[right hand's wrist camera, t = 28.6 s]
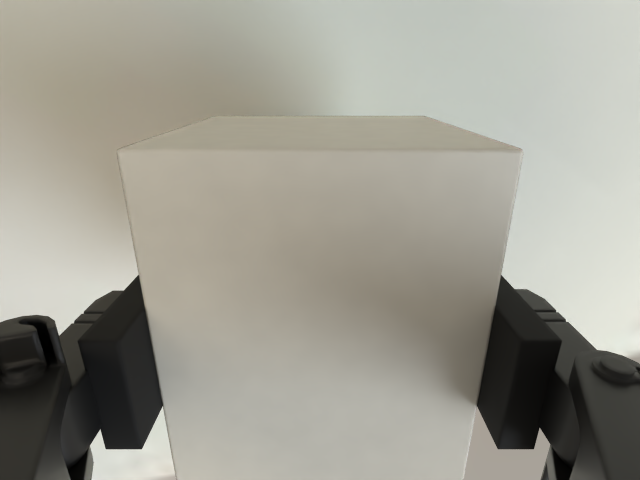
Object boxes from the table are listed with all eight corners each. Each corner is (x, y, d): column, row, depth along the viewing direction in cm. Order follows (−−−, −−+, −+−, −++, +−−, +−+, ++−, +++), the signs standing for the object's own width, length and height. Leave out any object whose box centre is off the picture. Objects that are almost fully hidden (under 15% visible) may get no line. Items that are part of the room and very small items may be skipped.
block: (426, 115, 14) (526, 149, 7) (405, 335, 18) (461, 499, 11) (213, 115, 14) (114, 148, 7) (233, 335, 18) (178, 499, 11)
